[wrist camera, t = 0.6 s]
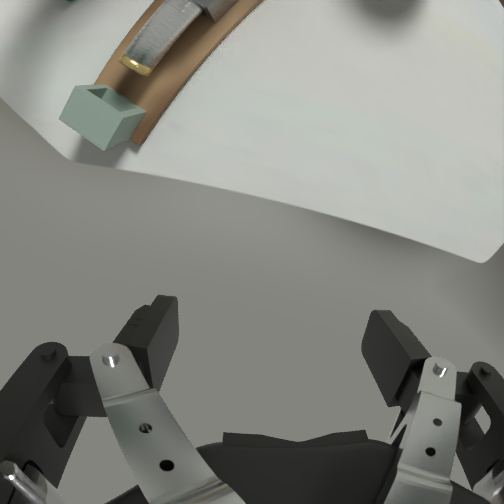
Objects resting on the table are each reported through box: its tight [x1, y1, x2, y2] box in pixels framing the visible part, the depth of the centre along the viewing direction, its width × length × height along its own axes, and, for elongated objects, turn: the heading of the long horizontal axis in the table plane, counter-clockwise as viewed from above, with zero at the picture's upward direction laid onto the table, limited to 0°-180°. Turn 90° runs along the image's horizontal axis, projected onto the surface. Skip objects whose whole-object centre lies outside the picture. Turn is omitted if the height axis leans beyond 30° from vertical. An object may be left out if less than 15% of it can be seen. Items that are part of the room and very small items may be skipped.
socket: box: [59, 84, 147, 151], centre depth 25 cm, size 7×4×7 cm, turn 50°
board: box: [94, 0, 263, 145], centre depth 24 cm, size 10×26×2 cm, turn 140°
